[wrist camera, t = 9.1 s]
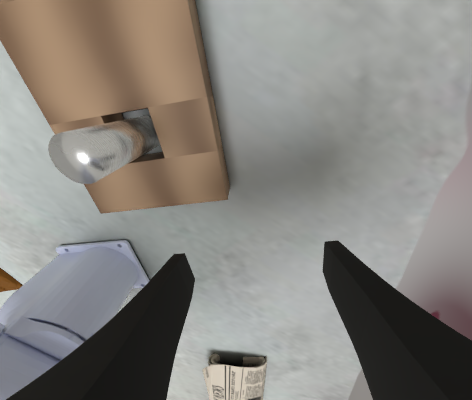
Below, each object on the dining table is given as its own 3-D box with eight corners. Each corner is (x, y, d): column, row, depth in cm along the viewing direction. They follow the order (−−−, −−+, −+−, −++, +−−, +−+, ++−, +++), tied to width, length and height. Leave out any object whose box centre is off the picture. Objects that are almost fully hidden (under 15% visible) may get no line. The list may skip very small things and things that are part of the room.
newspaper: (259, 415, 51) (260, 436, 48) (213, 411, 52) (210, 431, 49) (266, 348, 34) (268, 374, 31) (197, 344, 35) (192, 369, 32)
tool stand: (117, 200, 20) (101, 213, 18) (-78, -179, 10) (-174, -259, 7) (230, 187, 19) (227, 199, 16) (142, -279, 8) (104, -415, 6)
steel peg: (141, 149, 17) (68, 186, 10) (129, 118, 16) (36, 136, 9) (168, 144, 17) (112, 180, 10) (158, 112, 16) (85, 128, 9)
